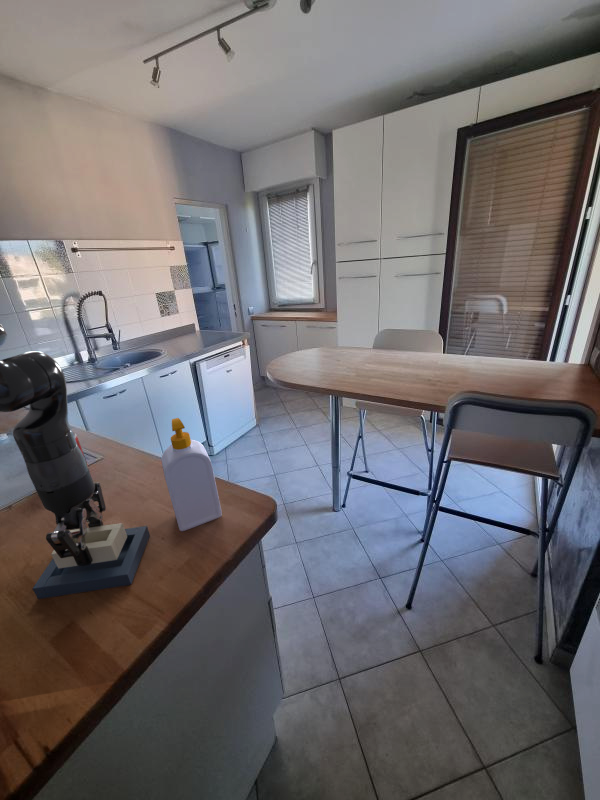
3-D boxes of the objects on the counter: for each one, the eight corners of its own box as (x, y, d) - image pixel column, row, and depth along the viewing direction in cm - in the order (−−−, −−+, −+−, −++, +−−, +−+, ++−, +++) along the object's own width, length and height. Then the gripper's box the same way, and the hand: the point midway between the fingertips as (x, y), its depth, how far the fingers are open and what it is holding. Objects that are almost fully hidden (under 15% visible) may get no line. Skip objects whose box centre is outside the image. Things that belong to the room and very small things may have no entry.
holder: (37, 599, 57) (31, 588, 56) (71, 546, 67) (67, 536, 66) (131, 584, 58) (127, 574, 57) (150, 535, 69) (147, 525, 68)
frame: (58, 568, 59) (50, 554, 57) (73, 544, 64) (67, 530, 62) (116, 559, 60) (111, 545, 58) (127, 536, 65) (122, 522, 63)
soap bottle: (215, 498, 78) (196, 410, 69) (222, 516, 72) (203, 423, 63) (175, 512, 75) (150, 421, 66) (180, 532, 69) (153, 436, 60)
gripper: (60, 454, 61) (90, 524, 68) (7, 507, 48) (50, 588, 55) (103, 448, 62) (128, 519, 68) (62, 499, 49) (98, 581, 55)
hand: (93, 549), depth 61 cm, fingers closed on frame, 5 cm apart
